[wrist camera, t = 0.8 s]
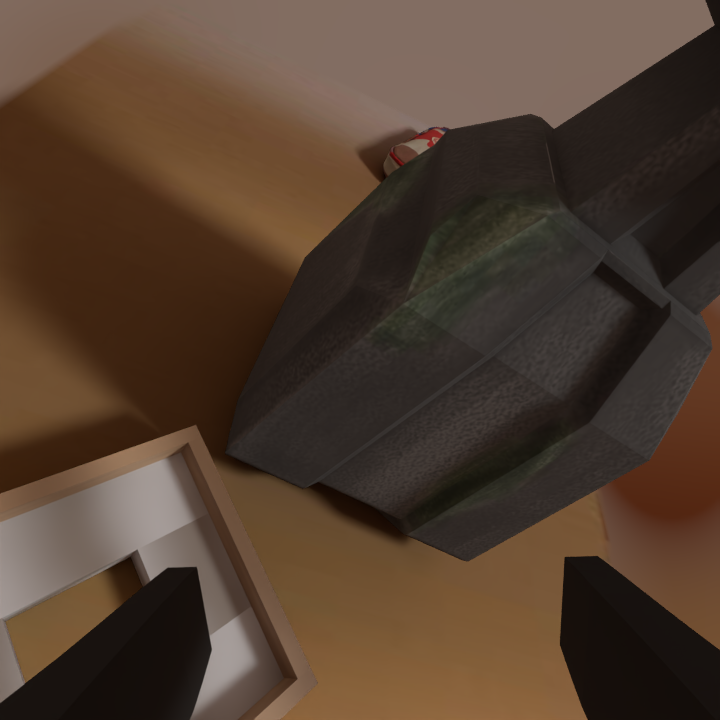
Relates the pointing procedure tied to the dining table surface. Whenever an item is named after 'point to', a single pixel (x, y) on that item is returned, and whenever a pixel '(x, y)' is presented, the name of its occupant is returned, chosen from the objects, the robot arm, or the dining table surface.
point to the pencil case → (411, 148)
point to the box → (156, 564)
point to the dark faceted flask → (503, 315)
